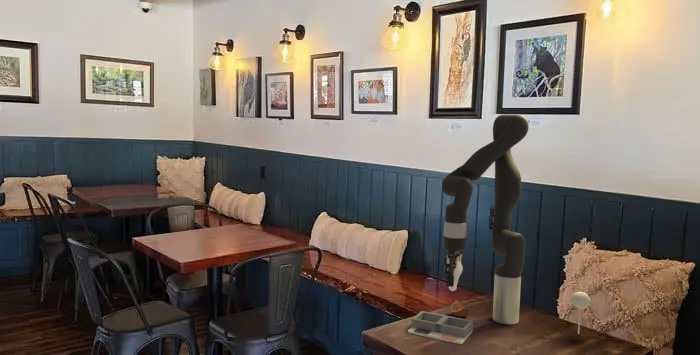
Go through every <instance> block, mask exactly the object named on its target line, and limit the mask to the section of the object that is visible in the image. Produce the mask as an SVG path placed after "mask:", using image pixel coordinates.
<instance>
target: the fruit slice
mask: <svg viewBox="0 0 700 355" xmlns="http://www.w3.org/2000/svg"><path fill="white" fill-rule="evenodd" d="M449 311H450V313H451V314H452V315H453V316H456V317H457V318H463V317H466V316H468V315H469V311H468V310H467V309H466V308H465V307H464V306H463V305H462V304H461V302H459V300H458V299H457V300H455V301H454V302H452V304H451V305H450V306H449Z"/></svg>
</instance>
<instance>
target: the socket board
mask: <svg viewBox="0 0 700 355" xmlns="http://www.w3.org/2000/svg"><path fill="white" fill-rule="evenodd" d="M473 330H474V320H471V319H465V318H462V317H457V316H456V317H455V316H449V315H446V314H440V313H435V312H430V311H424V310H421V311H420V312H419V313H418V314H416V315H415V316H413V317H412V318H411V327H410V328H409V329H408V330H407V333H408V334H411V335H417V336H420V337H425V338H431V339H435V340H439V341H445V342H449V343H453V344H458V345H463V344H464V343H465V342H466V340H467V339H468V338H469V337H470V335H471V334H472V333H473V332H474V331H473Z"/></svg>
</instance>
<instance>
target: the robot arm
mask: <svg viewBox="0 0 700 355" xmlns="http://www.w3.org/2000/svg"><path fill="white" fill-rule="evenodd" d="M529 128H530V126H529V122H528V119H527V118H526V117H525V116H524V115H520V114H501V115H500V114H499V115H498V116H496V118H495V119H494V121H493V125H492V141H491V142H490V143H487V144H486V145H484V146H482V147H481V148H479V149H478V150H477V151H475V152H474V153H473V154H471V156H469V158H467V160H466V161H465V162H464V163H463V164H462V165H461V166H459V167H457V168H456V169H454V170H453V171H451V172H450V173H448V174H447V175H446V176H445V178H444V179H443V181H442V183H441V184H442V185H441V190H442V192H443V193H444V195H446V196H448V197H453V198H454V199H453V203H449V204H447V205H446V206H445V211H444V212H445V215H444V226H443V243H442V247H443V249H444V250H447V251H448V253H447V254H446V257H444V266H445V269H444V275H445V276H446V286H447V287H449V286H450V287H453V285H454V273H455V269H456V268H457V263H458V261H459V262H460V263H461V264H462V263H463V254H464V251H465V250H466V248H467V245H466V244H467V214H468V213H467V210H468V207H469V205H470V202H471V198H472V195H473V189H474V187H473V184H472V182H473V181H477V180H479V179H480V178H481V177H482V176H483V175H484V174H485V172H487V170H488V169H489V168H490V167H491V166H492V165H493V164H494V210H493V212H494V213H493V223H492V224H493V225H492V231H491V247H492V249H493V251H494V252H495V253H496V254H499V255H501V256H504V257H505V259H504V263H500V264H497V265H495V268H494V282H493V283H494V284H493V285H494V287H493V306H492V320H493V321H494V322H496V323H499V324H504V325H515V324H518V323H519V320H520V319H519V318H520V304H521V302H520V301H521V287H522V286H521V285H522V283H521V282H522V271H523V269H524V265H525V257H526V246H527V245H526V244H527V243H526V238H525V237H524V235H522V234H521V233H520V232H515V231H511V230H510V228H511V227H510V222H511V216H512V213H513V211H514V210H515V208H516V207H517V205H518V202H519V200H520V199H521V194H522V176H521V173H520V170H519V169H518V166H517V165H516V163H515V160H514V158H513V155H512V150H511V149H512V148H513V147H515V145H517V144H518V143H520V142H521V141H522V140H523V139H525V137H526V136H527V134H528V132H529ZM454 264H455V266H453V265H454ZM449 269H450V271H449ZM459 278H460V277H459ZM459 278H458V282H459V281H460V280H459Z"/></svg>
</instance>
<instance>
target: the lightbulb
mask: <svg viewBox="0 0 700 355" xmlns="http://www.w3.org/2000/svg"><path fill="white" fill-rule="evenodd" d="M453 266H455V264H454V265H453ZM443 268H444V270H445V265H444V267H443ZM463 268H464V267H463V265H462V264H461V263H460V262H459V261H458V263H457V268H456V269H455V273H454V285H453V287H450V286H448V290H450V291H451V292H455V291H456V290H457V285H458V283H459V281H458V278H460V276H461V275H462V273H463ZM449 271H450V269H449Z"/></svg>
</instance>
